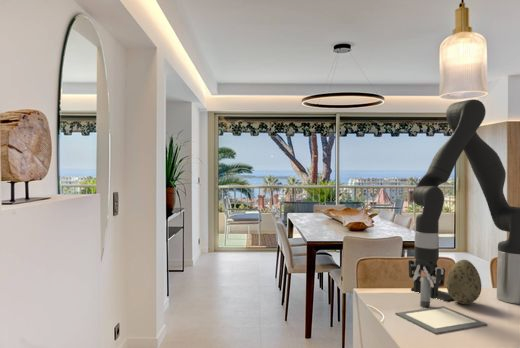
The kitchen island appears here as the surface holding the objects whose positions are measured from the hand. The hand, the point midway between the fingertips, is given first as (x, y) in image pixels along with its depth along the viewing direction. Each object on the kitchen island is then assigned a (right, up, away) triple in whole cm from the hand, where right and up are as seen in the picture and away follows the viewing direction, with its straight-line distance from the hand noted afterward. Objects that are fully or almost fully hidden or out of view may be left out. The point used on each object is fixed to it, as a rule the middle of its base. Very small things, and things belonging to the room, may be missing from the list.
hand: (425, 294), depth 132 cm
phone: (+9, -4, +13) cm, 16 cm away
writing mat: (-1, -4, -12) cm, 13 cm away
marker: (0, -4, 0) cm, 4 cm away
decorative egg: (+15, -4, +4) cm, 16 cm away
